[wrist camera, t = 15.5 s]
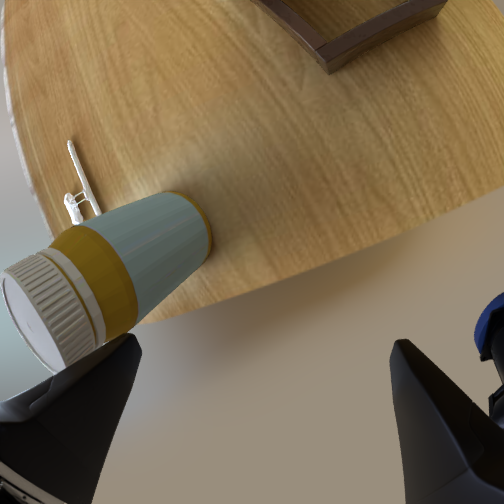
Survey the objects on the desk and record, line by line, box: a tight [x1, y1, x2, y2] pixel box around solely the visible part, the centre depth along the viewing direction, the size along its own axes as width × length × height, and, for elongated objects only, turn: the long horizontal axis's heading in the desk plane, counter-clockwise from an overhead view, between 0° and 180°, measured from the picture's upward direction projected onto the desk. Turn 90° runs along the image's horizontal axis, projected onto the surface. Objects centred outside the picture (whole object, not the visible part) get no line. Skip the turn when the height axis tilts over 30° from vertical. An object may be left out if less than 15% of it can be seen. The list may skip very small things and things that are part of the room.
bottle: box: [0, 191, 212, 375], centre depth 16 cm, size 7×7×15 cm
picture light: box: [64, 140, 102, 225], centre depth 24 cm, size 14×4×2 cm, turn 27°
